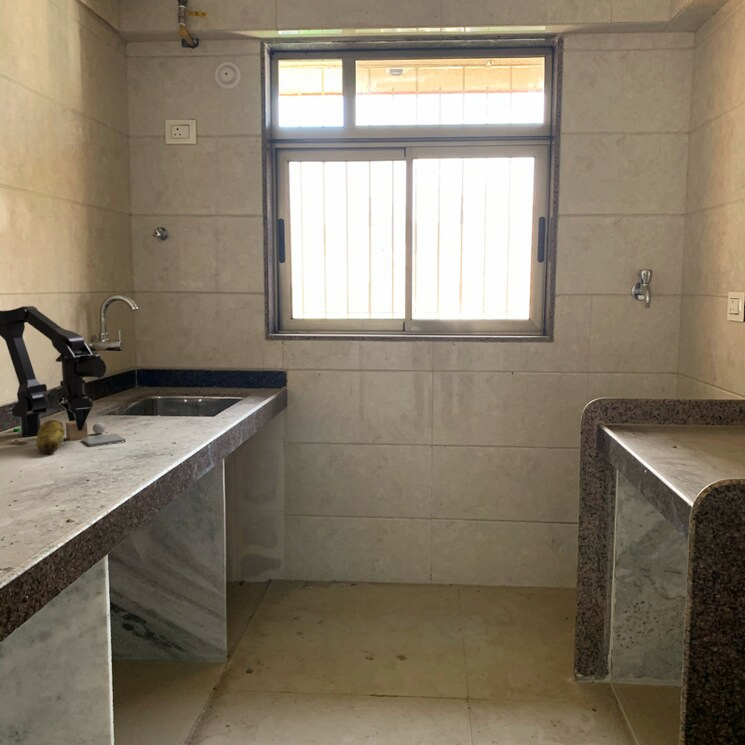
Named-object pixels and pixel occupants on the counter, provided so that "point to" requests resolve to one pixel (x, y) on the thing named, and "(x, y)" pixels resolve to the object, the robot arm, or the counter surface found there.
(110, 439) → the slate board
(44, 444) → the potato
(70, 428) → the tan block
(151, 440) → the counter surface
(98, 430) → the grey ball
